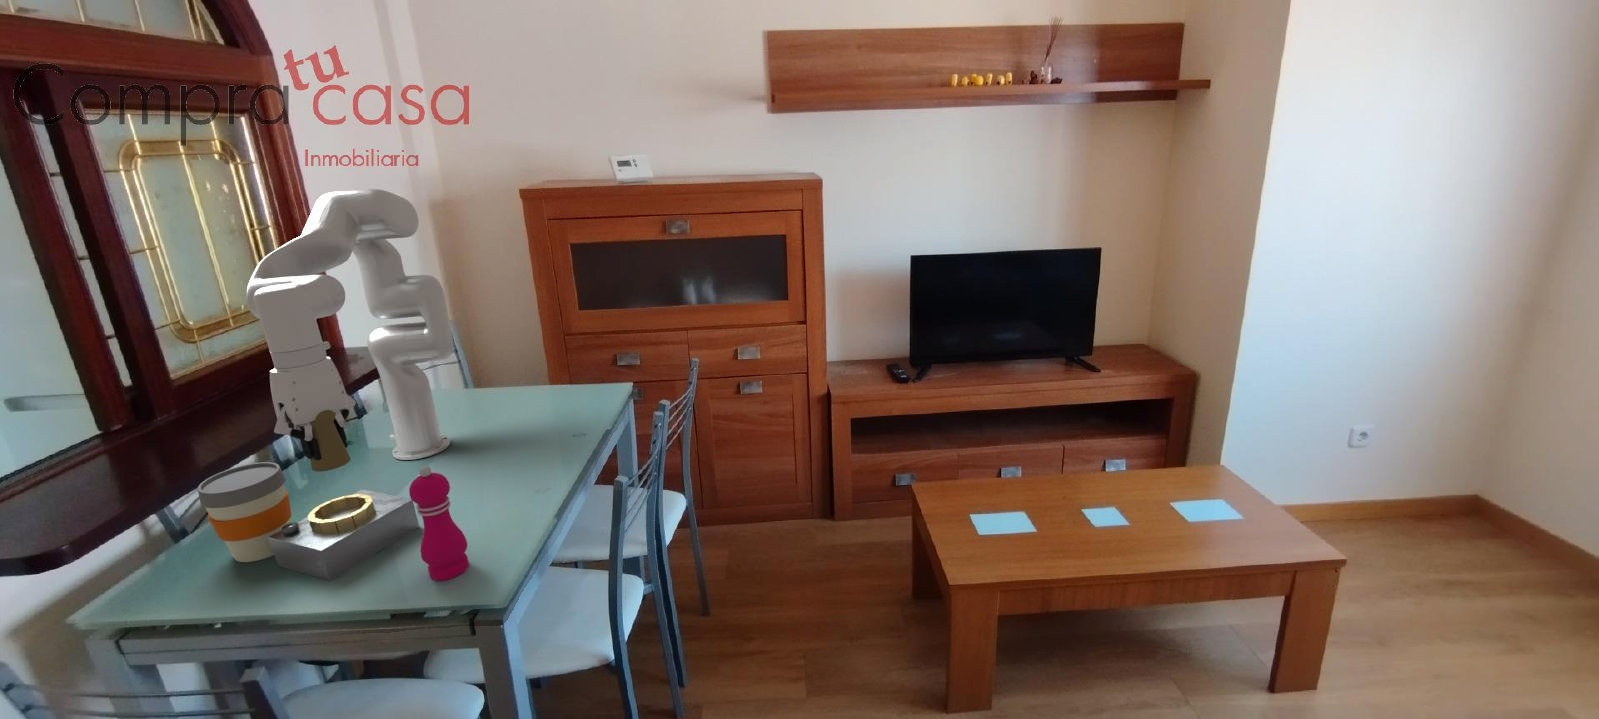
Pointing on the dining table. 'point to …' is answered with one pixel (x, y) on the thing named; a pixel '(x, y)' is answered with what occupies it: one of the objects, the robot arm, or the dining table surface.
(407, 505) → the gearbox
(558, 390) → the dining table surface
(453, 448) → the dining table surface
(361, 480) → the dining table surface
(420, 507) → the pepper mill
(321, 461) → the cork
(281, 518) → the reusable coffee cup
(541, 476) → the dining table surface
